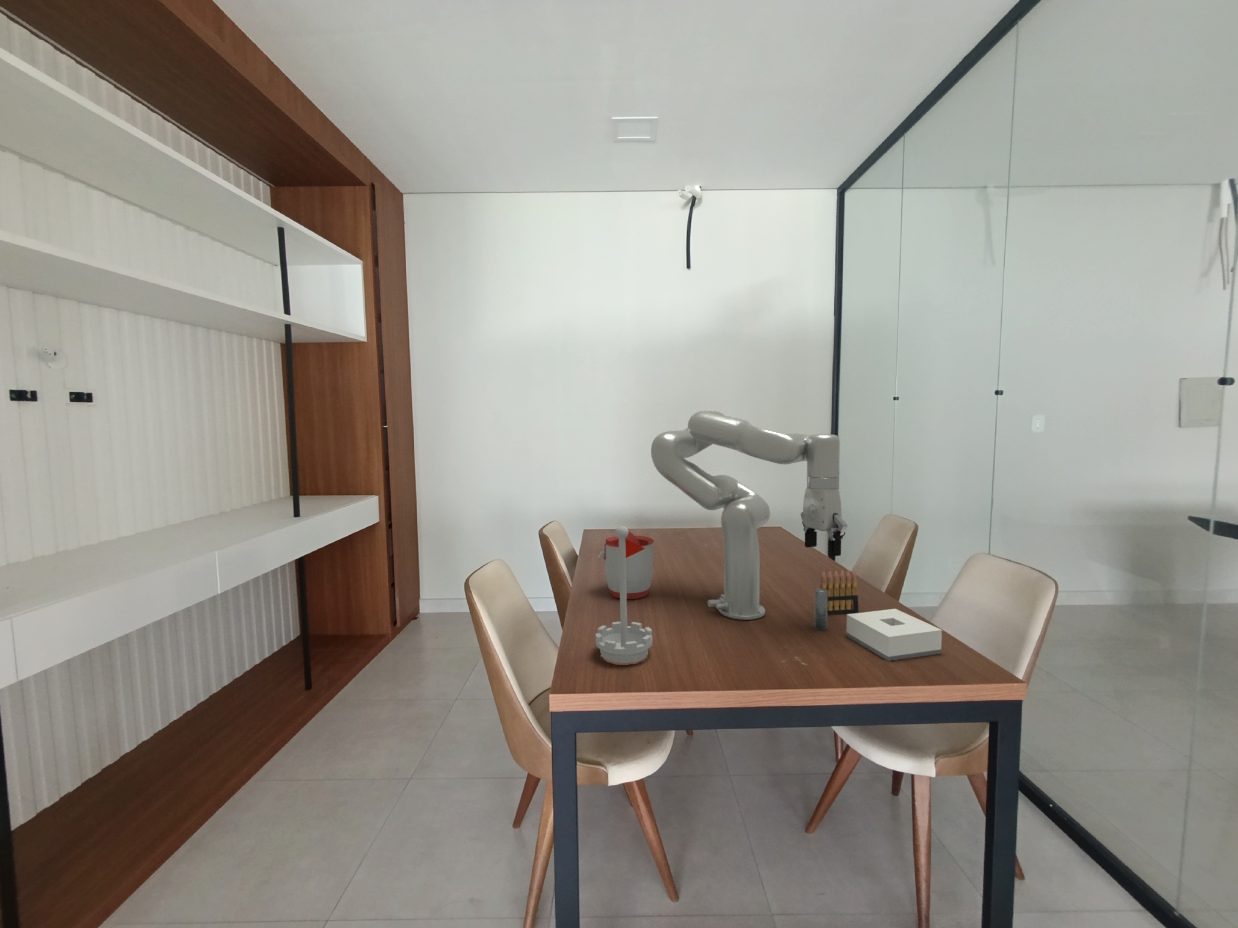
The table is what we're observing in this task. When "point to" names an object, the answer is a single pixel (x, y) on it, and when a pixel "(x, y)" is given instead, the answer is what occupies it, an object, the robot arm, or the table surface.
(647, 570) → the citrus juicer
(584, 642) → the table surface
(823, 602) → the pin
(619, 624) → the flag stand
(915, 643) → the socket block
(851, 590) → the ammunition clip
